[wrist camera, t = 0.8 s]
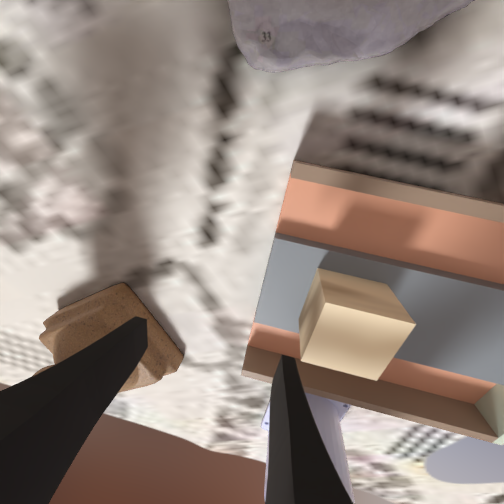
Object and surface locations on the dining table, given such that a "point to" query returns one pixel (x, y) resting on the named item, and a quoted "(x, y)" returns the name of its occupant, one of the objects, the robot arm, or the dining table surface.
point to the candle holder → (103, 322)
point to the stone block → (328, 29)
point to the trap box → (405, 289)
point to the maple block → (351, 324)
